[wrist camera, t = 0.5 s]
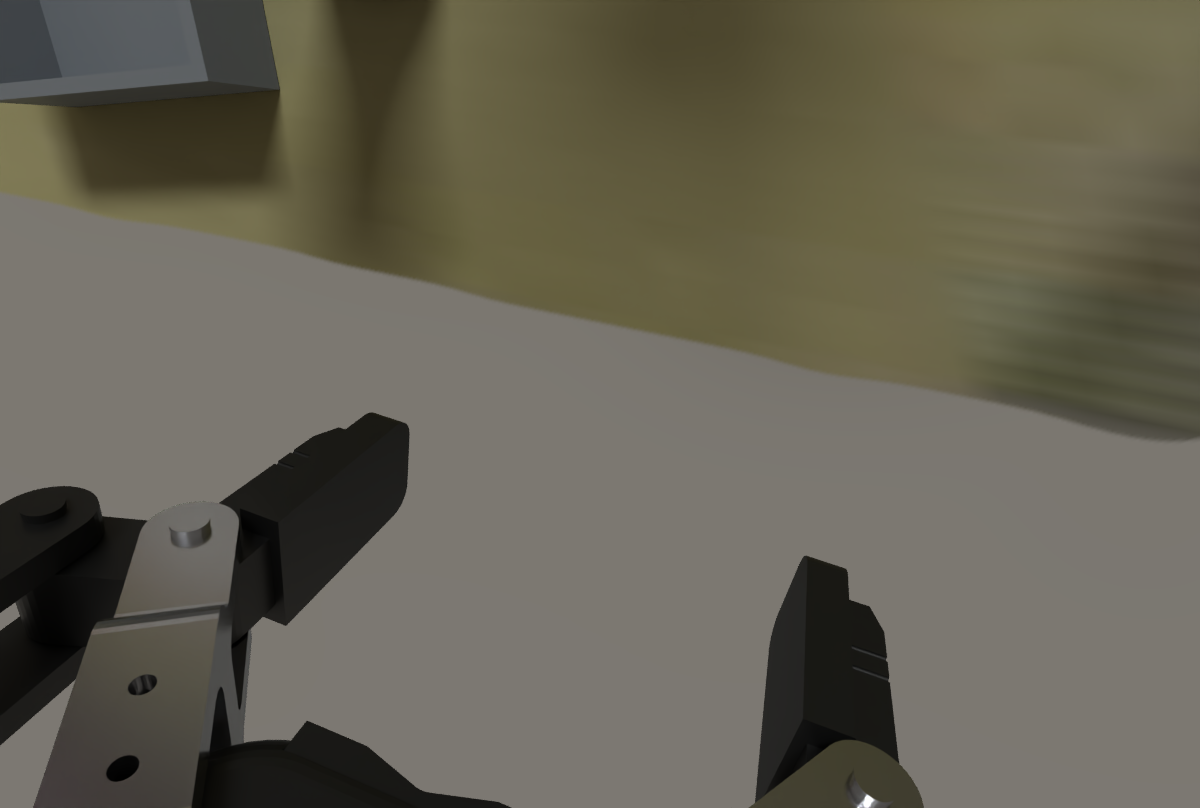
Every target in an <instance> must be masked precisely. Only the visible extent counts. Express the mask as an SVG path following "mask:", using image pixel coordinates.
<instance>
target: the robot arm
mask: <svg viewBox="0 0 1200 808" xmlns="http://www.w3.org/2000/svg"><path fill="white" fill-rule="evenodd" d="M408 454H409V428H408V426H407V424H405V423H403V422H400V421H397V420H394V419H391V418H388V417H385V416H382V415H379V414H376V413H368V414H366V415H364V416H363V417H362V418H360V419H359V420H358V421H356V422H355V423H354V424H352V425H351V426H350V427H348V428H347V429H342V428H336V429H333V430H330V431H327V432H324V433H321V434H319V435H316V436H313V437H312V438H310V439H309V440H308V441H306V442H305V443H303V444H302V445H300V446H299V447H298V448H296V449H295V450H294V452H293V453H289V454H288V455H286V456H285V457H283V458H282V459H281V460H279V461H278V464H277V465H276V464H273V465H272V466H271V467H269V468H268V469H266V470H265V471H264V472H262V473H261V474H260V475H258V476H257V477H255V478H254V479H252V480H251V481H249V482H248V483H247V484H246V485H244V486H242V487H241V488H240V489H238V490H237V491H235V492H234V493H233V494H231V495H230V496H228V497H227V498H225V499H224V500H223V501H221V502H220V503H214V502H205V501H203V502H189V503H184V504H179V505H176V506H173V507H170V508H168V509H166V510H163V511H161V512H160V513H158V514H156V515H155V516H153V517H152V518H151V519H150V520H148V521H146V520H135V519H124V518H114V517H104V516H102V514H101V510H100V505H99V501H98V499H97V497H96V496H95V495H94V494H93V493H91V492H90V491H88V490H85V489H82V488H78V487H71V486H58V487H48V488H42V489H38V490H33V491H30V492H27V493H24V494H21V495H19V496H16V497H14V498H12V499H10V500H8V501H6V502H5V503H3V504H1V505H0V613H1V612H2V611H3V610H5V609H6V608H8V607H9V606H11V605H12V604H13V603H15V602H16V605H17V608H18V611H19V614H20V617H18V618H17V619H16V620H14V621H13V622H12V623H10V624H9V625H7V626H6V627H5V628H3V629H2V630H1V631H0V745H1V744H2V743H3V742H5V741H6V740H7V739H8V738H9V737H10V736H11V735H13V734H14V733H15V732H16V731H17V730H18V729H19V728H21V727H22V726H23V725H24V724H25V723H26V722H27V721H29V720H30V719H31V718H32V717H33V716H34V715H35V714H36V713H38V712H39V711H40V710H41V709H42V708H43V707H45V706H46V705H47V704H48V703H49V702H50V701H51V700H52V699H53V698H55V697H56V696H57V695H58V694H59V693H61V692H62V691H63V690H64V689H65V688H66V687H67V686H69V685H70V684H71V683H72V682H73V681H74V680H75V679H76V680H75V683H74V686H73V689H72V692H71V695H70V698H69V701H68V704H67V707H66V710H65V713H64V716H63V719H62V722H61V725H60V728H59V731H58V734H57V737H56V740H55V743H54V746H53V750H52V752H51V755H50V758H49V761H48V764H47V767H46V771H45V773H44V777H43V779H42V782H41V785H40V788H39V791H38V794H37V797H36V801H35V803H34V806H33V808H511V807H508V806H506V805H504V804H501V803H499V802H494V801H487V800H479V799H471V798H465V797H457V796H450V795H442V794H435V793H428V792H424V791H422V790H419V789H418V788H416V787H415V786H414V785H413V784H412V783H410V782H409V781H408V780H407V779H406V778H404V777H403V776H402V775H401V774H399V773H398V772H397V771H396V770H395V769H393V768H392V767H391V766H390V765H389V764H388V763H386V762H385V761H384V760H383V759H382V758H380V757H379V756H378V755H377V754H376V753H375V752H373V751H372V750H371V749H370V748H369V747H367V746H365V745H363V744H361V743H358V742H356V741H354V740H351V739H349V738H347V737H344V736H342V735H339V734H337V733H335V732H333V731H330V730H328V729H325V728H323V727H321V726H318V725H316V724H314V723H311V722H309V721H306V723H305V724H304V725H303V727H302V728H301V729H300V730H299V731H298V733H297V734H296V735H295V736H294V738H293V739H292V740H291V741H289V740H263V741H253V742H246V743H244V720H245V708H246V698H247V687H248V675H249V664H250V653H251V641H252V636H251V635H252V634H251V628H252V627H253V626H254V625H255V624H256V623H257V622H258V621H259V620H260V619H261V618H262V617H265V618H268V619H270V620H273V621H275V622H278V623H281V624H283V625H285V626H286V625H287V624H288V623H289V622H290V621H291V620H292V619H293V618H294V617H295V616H296V615H297V614H298V613H299V612H300V611H301V610H302V609H303V608H304V607H305V606H306V605H307V604H308V603H309V602H310V601H311V600H312V599H313V598H314V596H316V594H318V592H319V591H320V590H321V589H322V588H323V587H324V586H325V585H326V584H327V583H328V582H329V581H330V580H331V579H332V578H333V577H334V576H335V575H336V574H337V573H338V572H339V571H340V570H341V569H342V568H343V567H344V566H345V565H346V564H347V563H348V561H350V560H351V559H352V558H353V556H355V554H356V553H358V551H359V550H360V549H361V548H362V547H363V546H364V545H365V544H366V543H367V542H368V541H369V540H370V539H371V538H372V537H373V536H374V535H375V534H376V533H377V532H378V531H379V530H380V529H381V528H382V527H383V526H384V525H385V524H386V523H387V522H388V521H389V520H390V519H391V517H392V516H394V514H395V513H396V512H397V511H398V509H399V507H400V506H401V504H402V501H403V499H404V496H405V493H406V489H407V476H408ZM886 658H887V653H886V644H885V636H884V631H883V629H882V628H881V626H880V624H879V622H878V621H877V619H876V617H875V615H874V614H873V612H872V610H871V608H870V607H869V606H866V605H863V604H860V603H857V602H854V601H851V600H849V588H848V572H847V570H846V569H845V568H842V567H839V566H836V565H833V564H830V563H827V562H824V561H821V560H818V559H815V558H812V557H809V556H804V557H803V558H802V560H801V562H800V564H799V566H798V569H797V571H796V573H795V576H794V578H793V580H792V583H791V585H790V588H789V590H788V592H787V594H786V597H785V599H784V601H783V604H782V606H781V608H780V611H779V613H778V616H777V618H776V621H775V625H774V628H773V632H772V636H771V641H770V647H769V657H768V667H767V678H766V689H765V700H764V711H763V722H762V733H761V744H760V755H759V765H758V777H757V788H756V798H755V803H754V804H753V805H752V806H751V807H749V808H924V806H923V803H922V798H921V796H920V793H919V791H918V789H917V787H916V785H915V784H914V782H913V780H912V779H911V777H910V776H909V775H908V773H907V772H906V771H905V770H904V769H903V767H902V766H901V765H899V759H898V751H897V742H896V733H895V724H894V715H893V706H892V699H891V689H890V683H889V682H888V679H889V671H888V662H887V661H886Z"/></svg>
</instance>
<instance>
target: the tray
mask: <svg viewBox="0 0 1200 808" xmlns="http://www.w3.org/2000/svg"><path fill="white" fill-rule="evenodd" d="M269 90H280V89H279V84H278V79H277V74H276V68H275V63H274V58H273V53H272V48H271V43H270V38H269V33H268V28H267V23H266V18H265V13H264V7H263V2H262V0H0V103H16V104H33V105H49V106H66V107H82V106H94V105H106V104H117V103H129V102H141V101H152V100H164V99H176V98H187V97H199V96H211V95H222V94H234V93H246V92H257V91H269Z"/></svg>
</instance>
